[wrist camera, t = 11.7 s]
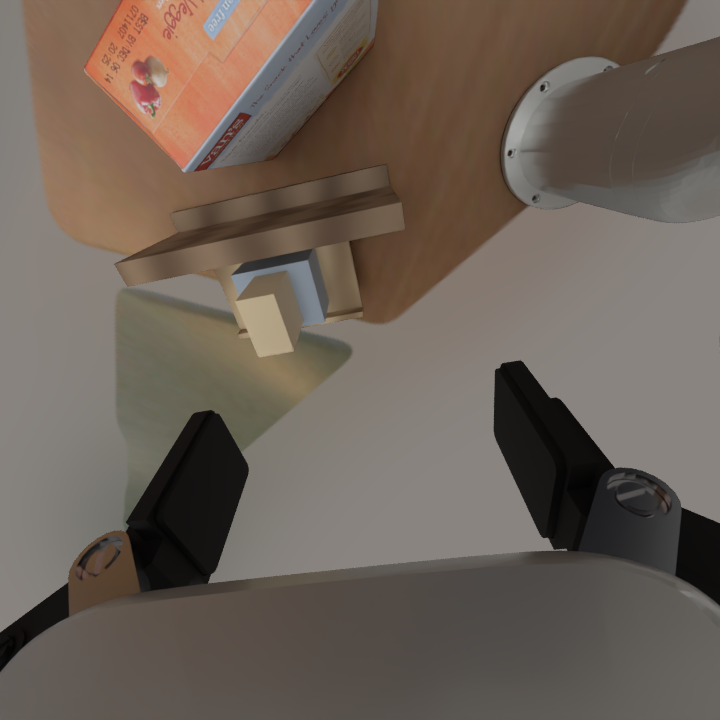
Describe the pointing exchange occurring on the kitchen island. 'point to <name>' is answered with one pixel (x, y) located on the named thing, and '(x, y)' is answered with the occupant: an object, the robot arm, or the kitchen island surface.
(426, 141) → the kitchen island surface
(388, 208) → the wooden toy bench
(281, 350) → the stacked toy blocks
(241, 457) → the robot arm
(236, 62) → the cracker box
